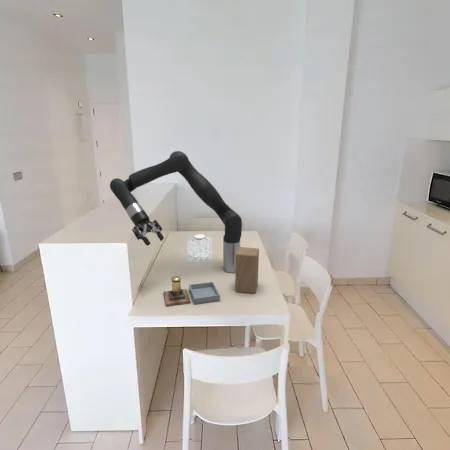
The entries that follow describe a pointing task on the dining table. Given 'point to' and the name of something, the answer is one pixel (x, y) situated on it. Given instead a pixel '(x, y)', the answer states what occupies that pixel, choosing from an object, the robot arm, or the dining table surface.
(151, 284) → the dining table surface
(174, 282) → the pin
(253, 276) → the wooden block
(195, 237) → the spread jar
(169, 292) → the pin dock
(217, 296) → the tray
